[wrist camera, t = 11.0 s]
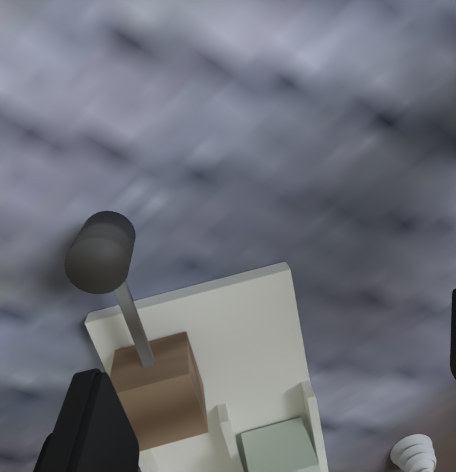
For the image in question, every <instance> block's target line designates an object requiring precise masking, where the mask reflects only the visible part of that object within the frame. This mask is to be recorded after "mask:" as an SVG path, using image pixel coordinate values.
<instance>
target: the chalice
mask: <svg viewBox="0 0 456 472" xmlns="http://www.w3.org/2000/svg"><path fill="white" fill-rule="evenodd" d="M390 457H391V460H392V462H393V463H394V464H396V465H398V466H399V467H400V469H402V470H403V471H405V472H433V471H434V469H435V466H436V457H435V455H434V449H433V448H432V441H431V439H430V438H429V437H427V436H426V435H421V434H415V435H410V436H407V437H405V438H403V439H402V440H400V441H399V442H398V443H397V444H395V445H394V447H393V449H392V450H391V454H390Z"/></svg>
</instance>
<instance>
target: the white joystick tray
mask: <svg viewBox="0 0 456 472" xmlns="http://www.w3.org/2000/svg"><path fill="white" fill-rule="evenodd" d="M134 304H135V307H136V309H137V312H138V315H139V317H140V320H141V323H142V326H143V328H144V331H145V334H146V336H147V339H148V341H152V340H156V339H159V338H163V337H167V336H171V335H174V334H178V333H182V332H187V335H188V338H189V341H190V344H191V348H192V351H193V354H194V357H195V360H196V363H197V366H198V370H199V373H200V376H201V379H202V382H203V385H204V394H205V403H206V412H207V421H208V431H209V432H208V433H205V434H201V435H197V436H194V437H190V438H187V439H183V440H179V441H176V442H172V443H169V444H165V445H161V446H158V447H154V448H151V449H147V450H143V451H140V454H139V463H138V465H139V467H140V469H141V471H142V472H329V471H328V465H327V459H326V454H325V448H324V442H323V436H322V430H321V424H320V418H319V412H318V406H317V400H316V395H315V393H314V391H313V389H312V386H311V384H310V379H309V374H308V368H307V362H306V356H305V350H304V345H303V339H302V333H301V327H300V321H299V316H298V310H297V304H296V298H295V292H294V287H293V281H292V275H291V269H290V268H289V266H288V265H287V263H286V261H285V262H281V263H277V264H273V265H269V266H266V267H262V268H258V269H254V270H250V271H247V272H243V273H239V274H235V275H231V276H227V277H224V278H220V279H216V280H212V281H208V282H204V283H201V284H197V285H193V286H189V287H185V288H181V289H178V290H174V291H170V292H166V293H162V294H159V295H155V296H151V297H147V298H143V299H139V300H136V301H134ZM85 325H86V328H87V330H88V332H89V334H90V337H91V339H92V341H93V343H94V346H95V348H96V350H97V352H98V355H99V357H100V359H101V361H102V364H103V366H104V368H105V370H106V373H107V374H108V375H109V377H110V373H111V368H112V363H113V358H114V353H115V350H118V349H122V348H126V347H129V346H133V345H135V344H134V342H133V339H132V336H131V334H130V331H129V329H128V326H127V324H126V321H125V319H124V316H123V313H122V311H121V308H120V306H119V305H116V306H113V307H109V308H105V309H101V310H97V311H93V312H90V313H88V315H87V318H86V321H85Z"/></svg>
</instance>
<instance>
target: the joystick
mask: <svg viewBox="0 0 456 472" xmlns="http://www.w3.org/2000/svg"><path fill="white" fill-rule="evenodd" d="M134 242H135V230H134V227H133V225H132V224H131V222H130V221H129V220H128V219H127V218H126V217H125V216H123V215H121V214H119V213H117V212H113V211H102V212H98V213H96V214H94V215H92V216H91V217H90V218H89V219H88V220H87V221H86V223H85V224H84V226H83V228H82V229H81V231H80V233H79V235H78V236H77V238H76V240H75V242H74V244H73V245H72V247H71V249H70V251H69V252H68V254H67V256H66V260H65V270H66V274H67V276H68V278H69V279H70V281H71V282H72V283H73V284H74V285H75V286H76V287H78V288H79V289H81V290H83V291H85V292H88V293H93V294H104V293H108V292H111V291H114V293H115V296H116V298H117V301H118V303H119V306H120V308H121V311H122V313H123V316H124V319H125V321H126V324H127V326H128V329H129V331H130V334H131V336H132V339H133V342H134V344H135V345H133V346H129V347H126V348H122V349H118V350H115V353H114V358H113V363H112V368H111V373H110V379H111V382H112V384H113V386H114V388H115V391H116V393H117V395H118V397H119V400H120V402H121V404H122V406H123V408H124V411H125V413H126V415H127V417H128V420H129V422H130V424H131V426H132V429H133V431H134V433H135V435H136V437H137V440H138V443H139V451H143V450H147V449H151V448H154V447H158V446H161V445H165V444H169V443H172V442H176V441H179V440H183V439H187V438H190V437H194V436H197V435H201V434H205V433H208V432H209V431H208V421H207V412H206V403H205V394H204V385H203V382H202V379H201V376H200V373H199V370H198V366H197V363H196V360H195V357H194V354H193V351H192V348H191V344H190V341H189V338H188V335H187V332H182V333H178V334H174V335H171V336H167V337H163V338H159V339H156V340H152V341H148V339H147V336H146V334H145V331H144V328H143V326H142V323H141V320H140V317H139V315H138V312H137V309H136V307H135V304H134V301H133V299H132V296H131V293H130V291H129V288H128V285H127V283H126V278H127V275H128V271H129V266H130V262H131V257H132V252H133V247H134Z"/></svg>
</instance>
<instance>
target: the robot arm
mask: <svg viewBox="0 0 456 472" xmlns="http://www.w3.org/2000/svg"><path fill="white" fill-rule="evenodd" d="M450 368H451V372H452V374H453V376H454V378H455V379H456V289H454V290H453V292H452V315H451V350H450ZM139 454H140V451H139V443H138V440H137V437H136V435H135V433H134V431H133V429H132V426H131V424H130V422H129V420H128V417H127V415H126V413H125V411H124V408H123V406H122V404H121V402H120V400H119V397H118V395H117V393H116V391H115V388H114V386H113V384H112V382H111V379H110V377H109V375H108V374H107V373H106V372H104V373H101V371H100V370H99V369H92V370H88V371H83V372H79V373H76V374H75V375H74V376H73V378H72V381H71V384H70V387H69V389H68V392H67V395H66V397H65V400H64V403H63V406H62V408H61V411H60V414H59V417H58V419H57V422H56V425H55V428H54V430H53V433H51V434H50V435H49V436H48V437H47V438H46V440H45V442H44V444H43V447H42V450H41V452H40V455H39V458H38V460H37V463H36V466H35V468H34V471H33V472H138V463H139Z"/></svg>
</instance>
